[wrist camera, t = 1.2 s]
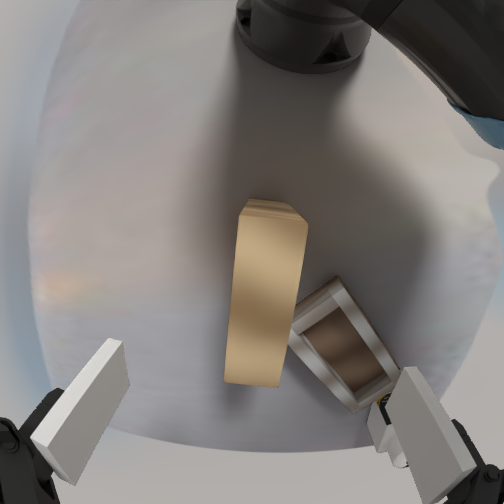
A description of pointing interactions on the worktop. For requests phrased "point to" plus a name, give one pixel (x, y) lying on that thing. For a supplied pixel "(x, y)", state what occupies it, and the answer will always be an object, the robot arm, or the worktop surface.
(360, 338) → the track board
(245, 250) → the door slab
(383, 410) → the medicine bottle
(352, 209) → the worktop surface
